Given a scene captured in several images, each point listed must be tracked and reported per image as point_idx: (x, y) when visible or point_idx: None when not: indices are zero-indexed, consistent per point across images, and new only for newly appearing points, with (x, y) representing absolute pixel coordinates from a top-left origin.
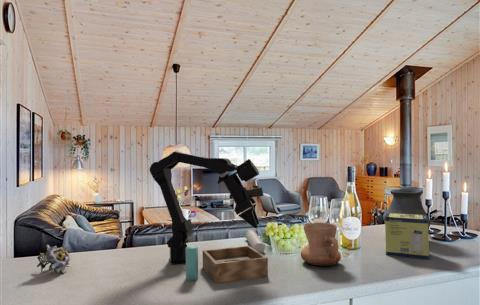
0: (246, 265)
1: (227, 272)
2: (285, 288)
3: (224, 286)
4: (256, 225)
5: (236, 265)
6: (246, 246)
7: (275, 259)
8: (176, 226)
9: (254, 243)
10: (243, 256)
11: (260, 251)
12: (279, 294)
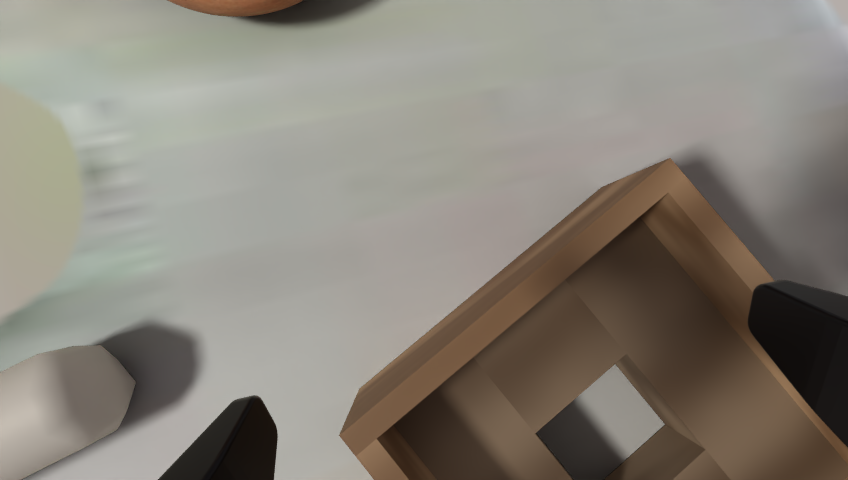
0: None
1: None
2: (747, 55)
3: None
4: (820, 301)
5: None
6: (377, 448)
7: (252, 219)
8: None
9: (35, 459)
10: (445, 425)
11: (121, 370)
12: (832, 68)
